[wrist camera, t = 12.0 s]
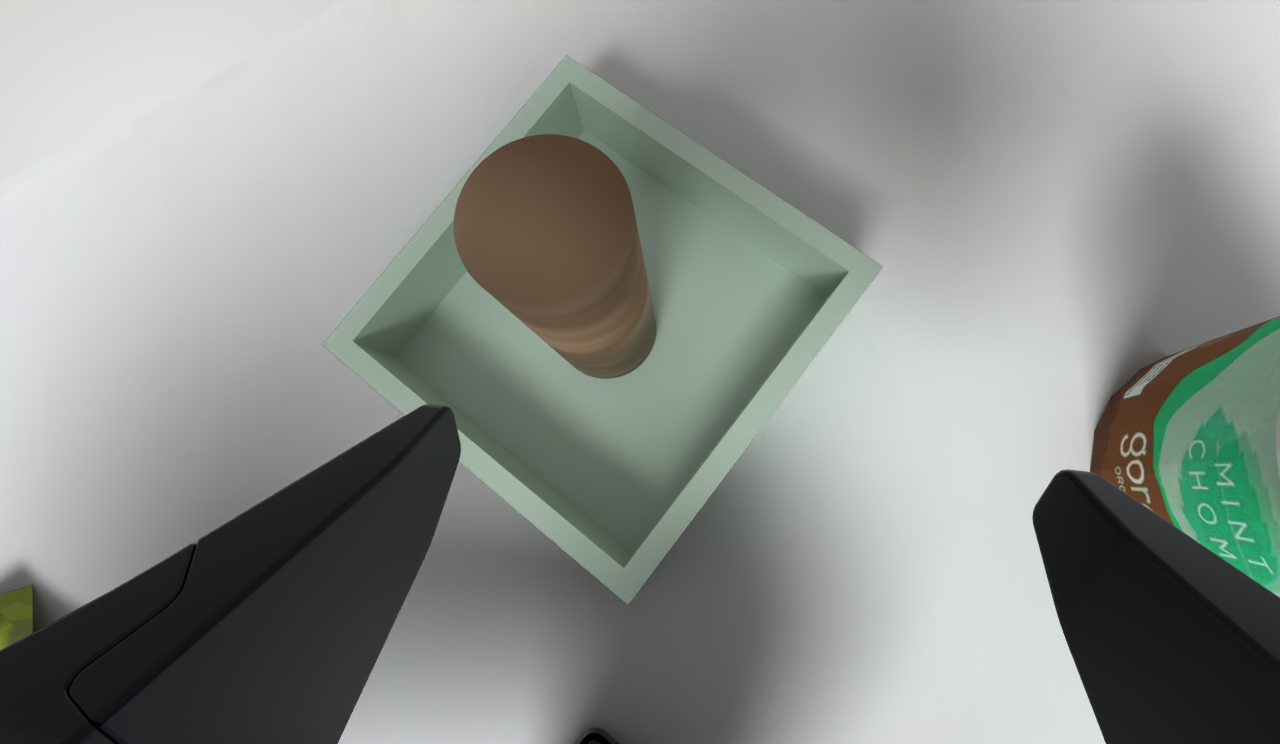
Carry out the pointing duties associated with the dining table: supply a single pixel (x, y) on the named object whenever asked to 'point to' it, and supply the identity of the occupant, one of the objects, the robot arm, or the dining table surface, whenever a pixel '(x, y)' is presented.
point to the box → (649, 395)
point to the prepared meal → (16, 615)
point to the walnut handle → (560, 250)
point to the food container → (1205, 446)
